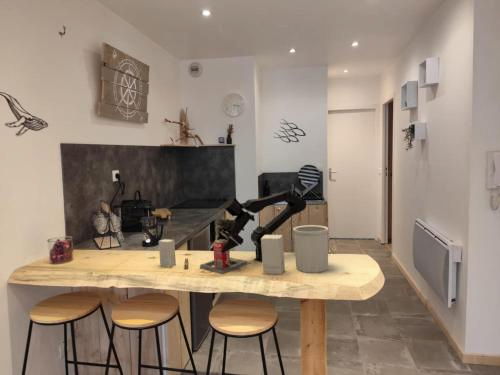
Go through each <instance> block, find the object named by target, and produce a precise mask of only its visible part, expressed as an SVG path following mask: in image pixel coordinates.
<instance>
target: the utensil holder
mask: <svg viewBox="0 0 500 375" xmlns="http://www.w3.org/2000/svg"><path fill="white" fill-rule="evenodd" d="M292 230H293V234H294V236H293V240H294V257H295V258H294V259H295V269H296V270H298V271H299V272H303V273H311V274H314V273H315V274H316V273H323V272H324V271H327V270H328V268H329V237H328V235H329V227H327V226H325V225H316V224H309V225H307V224H305V225H300V226H294V227H293V229H292Z"/></svg>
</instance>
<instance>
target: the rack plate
mask: <svg viewBox="0 0 500 375" xmlns="http://www.w3.org/2000/svg"><path fill="white" fill-rule="evenodd" d="M247 265H248V261H247V260H243V259H239V258H235V257H231V256H230V265H229V266H228V267H226V268H223V269H219V268H217V267H215V265H214V259H213V260H211V261H208V262H205V263H202V264H200V265H199V268H200V269H202V270H206V271H210V272H213V273H218V274H222V275H224V274H226V273H229V272H231V271H234V270H236V269H239V268H241V267H244V266H247Z"/></svg>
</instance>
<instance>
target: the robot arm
mask: <svg viewBox="0 0 500 375" xmlns="http://www.w3.org/2000/svg"><path fill="white" fill-rule="evenodd" d="M282 202H286V203H287V204H286V206H285V208H284V209H283V210H282V211H281V212H280V213H278V215H276V216H275V217H274V218H273V219H272V220H270V221H269V222H267V224H266V225H264V226H261V225H258V226H257V227H256V228H255V229H254V230H252V233H251V234H250V240H251V242H252V243H253V245H254V246H255V258H253V260H254V261H259V262H262V247H261V238H262V237H263V236H264V235H273V233H274V232H276V231H277V230H278V229H279V228H280V227H281V226H282V225H283V224H284V223H286V222H287V221H288V220H289V219H290V218H291V217H292V216H294V215H297V214H299V213H301V212H303V211H305V209H306V208H307V202H306V199H304V198H300V197H298V196H296V195H295V194H293V193H291V192H290V191H285V190H283V191H281V192H279V193H275V194H272V195H271V194H270V195H269V196H265V197H263V198H252V199H247V200H246V201H245V202H243V203H241V202H239V201H238V199H237V198H236V197H232V198H231V199H229V200H228V201H226V202H225V204H224V205H223V209H224V210H225V211H226V212H227V213H228V214H229V215H231V216H232V217H234V219H229V218H226V219H222V218H218V220H217V223H216V225H217V226H218V227H217V229H216V230H217V231H216V232H217V237H216V240H219V239H225V240H227V242H226V244H225V245H224V247H223V248H222V250H221V252H222V253H224V252H226V251H228V250H229V251H230V250H232V249H233V248H236V247H238V246H239V245H240V246H242V245H243V243H244V238H243V237H242V236H240V233H241V232H242V231H243V232H244V231H245V227H246V225H247V224H248V223H249V222H250V221H252V222H255V220H256V219H255V215H254V214H258V213H259V212H261V211H264V209H266V208H267V207H269V206H272V205H276V204H278V203H282Z"/></svg>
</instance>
